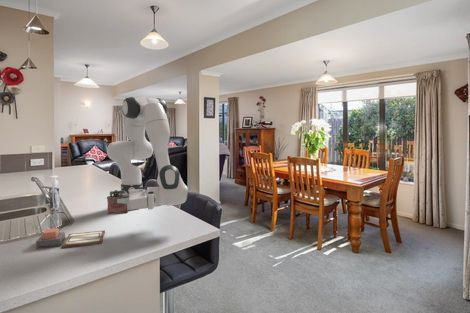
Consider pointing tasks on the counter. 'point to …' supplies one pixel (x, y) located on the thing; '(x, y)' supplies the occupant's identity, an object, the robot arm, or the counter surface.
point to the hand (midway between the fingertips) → (117, 199)
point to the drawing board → (83, 239)
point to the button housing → (50, 241)
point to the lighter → (116, 207)
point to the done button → (51, 233)
